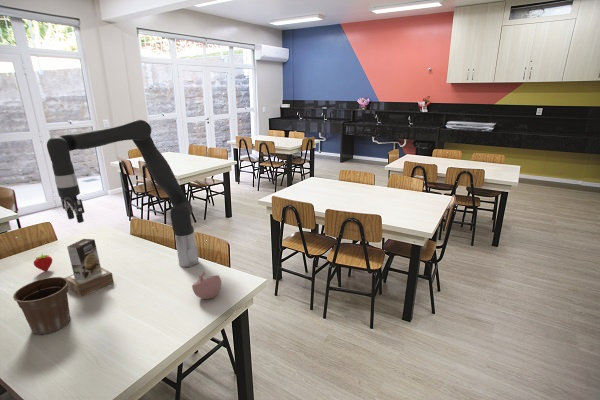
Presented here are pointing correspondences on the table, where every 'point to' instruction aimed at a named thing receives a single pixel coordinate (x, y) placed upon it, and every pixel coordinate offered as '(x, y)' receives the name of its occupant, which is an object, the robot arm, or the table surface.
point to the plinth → (90, 282)
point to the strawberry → (43, 262)
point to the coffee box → (84, 259)
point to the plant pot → (44, 304)
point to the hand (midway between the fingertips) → (76, 220)
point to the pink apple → (207, 286)
